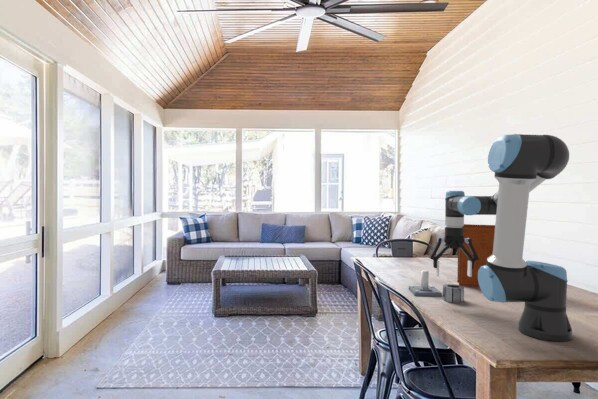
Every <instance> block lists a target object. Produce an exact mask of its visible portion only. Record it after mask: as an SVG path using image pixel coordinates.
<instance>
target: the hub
mask: <svg viewBox="0 0 598 399" xmlns="http://www.w3.org/2000/svg"><path fill="white" fill-rule="evenodd" d="M442 300H443V301H444V302H446V303H447V302H448V303H454V304H461V303H464V302H465V286H461V285H459V284H455V283H448V284H446V283H445V284H443V285H442Z"/></svg>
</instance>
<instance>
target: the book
mask: <svg viewBox="0 0 598 399" xmlns="http://www.w3.org/2000/svg"><path fill="white" fill-rule="evenodd" d="M463 228H464V239H466V238H470V239H471V241H472V245H473V247H474V249H475V251H476V253H477V255H478V258H479V260H475V262H474V269H472V277H469V276H467V270H468V261H470V260H469V258H468V257H467V256H466V255H465V254H464V252H463V251H462V250H461V249H460V248H458V249H457V278H456V279H457V283H458V285H461V286H463V287H473V288H474V287H475V288H476V287H477V288H480V286H479V282H478V270H479V269H480V267H481V266H484V265H486V264H487V258H488V257H489V256H491V255H492V254H493V244H494V233H495V224H490V225H489V224H470V223H469V224H466V223H464V226H463ZM462 245H463V246H464V247H465V249H466V250H467V251H468V252H469V254H470V255H471V256H472V257H473V255H472V253H471V251H470V249H469V247H468V245H467V243H466V242H465V241H464V243H463V244H462Z"/></svg>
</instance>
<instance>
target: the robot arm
mask: <svg viewBox="0 0 598 399" xmlns="http://www.w3.org/2000/svg"><path fill="white" fill-rule="evenodd" d="M569 161H570V151H569V147H568V146H567V144H566V143H565V141H564V140H562V139H561V138H559V137H557V136H555V135H551V134H521V133H519V134H517V133H514V134H504V135H503V134H502V135H500V136H499V137H497V138H496V139H495V140H494V142H492V145H491V146H490V148H489V151H488V156H487V164H488V168H489V170H490V171H491V172H493V173H494V178H495V179H496V181H497V182H498V191H496V193H493V195H466V194H465V191H464V190H447V191H446V192H445V198H444V199H445V200H444V201H445V210H444V212H445V216H444V217H445V218H444V220H445V221H444V226H445V227H444V238H443V237H436V242H435V244H434V247H433V248H432V250H431V251H430V253H429V255H428V258H429V259H431V260H432V261H433V262H432V264H433V265H432V266H433V268H434V269H435V272H434V273H435V274H434V275H435V276H436V277H440V260H439V259H440V258H441V257H442V255H444V253H446V251H448V250H449V249H456V250H458V248H460V249H461V250H462V251H463V252H464V254H465V255H466V256H467V257H468V258H469V260H470V261H468V270H467V276H469V277H472V269H474V262H475V260H479V258H478V255H477V253H476V251H475V249H474V247H473V245H472V241H471V239H470V238H466V239H464V228H463V226H464V224H465V216H477V215H478V216H480V215H481V216H484V215H485V216H486V215H488V216H495V224H494V225H495V233H494V244H493V254H492V255H491V256H489V257H488V258H487V264H486V265H484V266H481V267H480V269H479V270H478V282H479V286H480V287H479V288H480V291H481V293H482V294H483V296H484V297H485V299H487V300H488V301H490V302H493V303H494V302H495V303H502V304H503V303H524V307H523V311H521V312H522V313H521V316H520V318H519V320H518V323H517V324H518V326H517V327H518V328H517V329H518V331H519V332H520V333H523V334H524V335H527V336H529V337H531V338H535V339H539V340H544V341H549V342H550V341H551V342H567V341H571V340H572V339H573V328H572V326H571V323H570V320H569V316H568V314H567V296H568V295H567V293H568V292H567V290H568V281H569V280H568V276H567V275H568V274H567V270H566V269H565V267H563V266H561V265H557V264H552V263H547V262H542V261H534V260H526V261H525V260H524V259H523V255H524V247H525V246H524V245H525V238H526V237H525V236H526V225H527V218H528V216H527V215H528V207H529V199H530V198H529V197H530V193H531V192H532V191H533V190H535V189H536V188H537V187H539V185H541V184H542V183H543V182H544V181H545V182H546V180H551V179H553V178H555V177H556V176H558V175H560V174H561V173H562V172H563V171H564V170H565V168H566V167H567V165H568V163H569ZM464 241H465V242H466V243H467V245H468V247H469V249H470V251H471V253H472V255H473V257H472V256H471V255H470V254H469V252H468V251H467V250H466V249H465V247H464V246H463V245H462V244H463V243H464ZM443 242H444V245H443V246H442V247H441V248H440V246H441V245H442V244H443Z"/></svg>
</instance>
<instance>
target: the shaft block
mask: <svg viewBox="0 0 598 399" xmlns="http://www.w3.org/2000/svg"><path fill="white" fill-rule="evenodd" d="M429 276H430V274H429V270H425V269H423V270H421V272H420V277H421V279H420V286H419V285H408V291H409V292H411V293H412V295H413V296H414V297H443V292H442V291H440V290H439V289H438V288H437V287H435V286H433V285H429Z"/></svg>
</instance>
